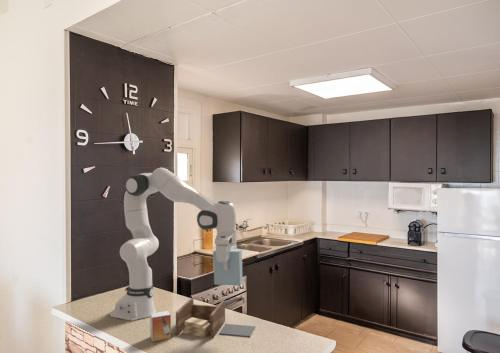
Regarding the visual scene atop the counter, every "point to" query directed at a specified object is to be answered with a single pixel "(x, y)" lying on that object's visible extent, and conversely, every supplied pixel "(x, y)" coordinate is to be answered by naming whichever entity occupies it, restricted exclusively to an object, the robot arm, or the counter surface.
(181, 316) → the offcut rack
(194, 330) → the offcut stack
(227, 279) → the pale blue upright block
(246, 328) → the rubber mat
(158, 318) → the small box
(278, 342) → the counter surface
